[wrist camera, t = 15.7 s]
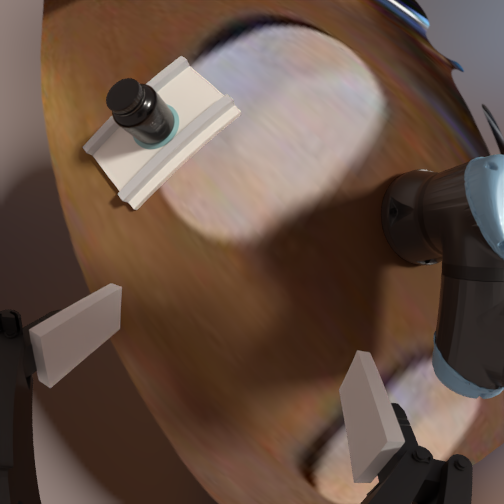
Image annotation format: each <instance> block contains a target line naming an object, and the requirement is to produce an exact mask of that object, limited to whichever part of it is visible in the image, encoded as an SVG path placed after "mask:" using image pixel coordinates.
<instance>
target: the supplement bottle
mask: <svg viewBox="0 0 504 504" xmlns="http://www.w3.org/2000/svg"><path fill="white" fill-rule="evenodd" d="M106 98H107V99H106V101H107V102H106V104H107V106H108V107H109V109H110V110H112V116H113V119H114V121H115V123H116V124H117V125H118V126H120V127H121V128H122V129H124V130H125V131H126V132H128V133H129V134H131V135H132V136H133V137H135V138H136V139H137V140H139V141H140V142H142V143H144V144H147V145H154V144H158V143H160V142H162V141H164V140H165V139H166V138H167V137H168V136H169V135H170V134H171V132H172V130H173V128H174V124H175V118H174V115H173V113H172V111H171V110H170V108H169V107H168V106H167V105H166V103H165V102H164V101H163V99H162V98H161V97H160V96H159V94H158V93H157V92H156V91H155V90H154V89H153V88H152V87H151V86H149V85H147V84H139V83H138V82H137V81H136V80H135V79H132V78H131V79H129V78H127V79H122V80H121V81H119V82H117V83H116V84H115V85H113V87H112V88H111V89H110V90H109V93H108V94H107V97H106Z"/></svg>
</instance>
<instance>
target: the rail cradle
mask: <svg viewBox="0 0 504 504" xmlns="http://www.w3.org/2000/svg"><path fill="white" fill-rule="evenodd" d="M147 85H149V86H151V87H152V88H153V89H154V90H155V91H156V92H157V93H158V94H159V96H160V97H161V98H162V99H163V101H164V102H165V103H166V105H167V106H168V107H169V108H170V110H171V111H172V113H173V115H174V118H175V124H174V128H173V130H172V132H171V134H170V135H169V136H168V137H167V138H166V139H165V140H164V141H162V142H160V143H158V144H154V145H147V144H144V143H142V142H140V141H139V140H137V139H136V138H135V137H133V136H132V135H131V134H129V133H128V132H126V131H125V130H124V129H122V128H121V127H120V126H118V125H117V124H116V123H115V121H114V119H113V116H111V117H110V118H109V119H108V120H107V121H106V122H105V123H104V124H103V126H102V127H101V128H100V129H99V130H98V131H97V132H96V133H95V134H94V135H93V136H92V137H91V138H90V140H89V141H88V142H87V143H86V144H85V145H84V146H83V149H84V150H85V151H86V153H88V154H90V155H92V156H93V157H94V158H95V159H96V161H97V162H98V164H99V165H100V166H101V168H102V169H103V170H104V172H105V173H106V174H107V176H108V177H109V178H110V179H111V181H112V182H113V183H114V185H115V186H116V187H117V189H118V190H119V191H120V192H119V193H118V196H119V197H120V198H121V199H122V201H124V202H128V203H129V204H130V205H131V206H132V208H133V209H134V210H138V209H139V208H140V207H141V205H142V204H143V203H144V202H145V201H146V200H147V199H148V198H149V197H150V196H151V195H152V194H153V193H154V192H155V191H156V190H157V189H158V188H159V187H160V186H161V185H162V184H163V183H164V182H165V181H166V180H167V179H169V178H170V177H171V176H172V175H173V174H174V173H175V172H176V171H177V170H178V169H179V168H180V167H181V166H182V165H183V164H184V163H186V162H187V161H188V160H189V159H190V158H191V157H192V156H193V155H194V154H195V153H197V152H198V151H199V150H200V149H201V148H202V147H203V146H204V145H206V144H207V143H208V142H209V141H210V140H211V139H213V138H214V137H215V136H216V135H217V134H218V133H220V132H221V131H222V130H223V129H224V128H226V127H227V126H228V125H229V124H230V123H232V122H233V121H234V120H235V119H236V118H238V117H239V116H240V115H241V111H240V110H239V109H238V108H237V107H236V106H235V105H234V100H233V99H232V98H231V97H230V96H229V95H228V94H226V95H223V94H222V93H220V92H219V91H218V90H217V89H216V88H215V87H214V86H213V85H211V84H210V83H209V82H208V81H207V80H206V79H204V78H203V77H202V76H201V75H200V74H199V73H197V72H196V71H195V70H194V69H193V68H191V67H190V66H189V64H188V61H187V60H186V59H185V58H184V57H183V56H180V57H179V58H178V59H176V60H175V61H174V62H173V63H171V64H170V65H169V66H167V67H166V68H165V69H164V70H162V71H161V72H160V73H159V74H157V75H156V76H155V77H154V78H153V79H151V80H150V81H149V82H148V83H147Z"/></svg>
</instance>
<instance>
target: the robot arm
mask: <svg viewBox="0 0 504 504" xmlns="http://www.w3.org/2000/svg"><path fill="white" fill-rule="evenodd" d="M381 218H382V226H383V230H384V233H385V236H386V239H387V241H388V243H389V244H390V246H391V247H392V249H393V250H394V251H395V252H396V253H397V254H398V255H399V256H400V257H401V258H403V259H404V260H406V261H408V262H411V263H414V264H420V265H432V264H436V263H439V262H441V261H442V274H441V289H440V301H439V310H438V319H437V327H436V331H435V333H434V351H433V358H432V364H433V367H434V371H435V374H436V376H437V377H438V379H439V380H440V381H441V382H442V383H443V384H444V385H445V386H446V387H447V388H449V389H450V390H452V391H454V392H456V393H458V394H460V395H463V396H466V397H469V398H478V396H480V397H482V398H483V399H487V398H492V397H494V396H496V395H498V394H500V393H501V392H502V391H503V389H504V155H501V154H497V155H491V156H488V157H479V158H475V159H473V160H471V161H470V162H467V163H464V164H462V165H459V166H456V167H454V168H451V169H448V170H445V171H443V172H440V173H436V172H432V171H429V170H421V169H420V170H413V171H410V172H407V173H405V174H403V175H401V176H399V177H398V178H396V179H395V180H394V181H393V182H392V183H391V185H390V186H389V188H388V189H387V191H386V193H385V196H384V199H383V203H382V210H381ZM121 295H122V287H121V286H118V285H115V284H112V283H110V284H109V285H107V286H105V287H103V288H101V289H99V290H98V291H96V292H94V293H92V294H90V295H88V296H87V297H85V298H83V299H81V300H80V301H78V302H76V303H74V304H72V305H71V306H69V307H67V308H65V309H64V310H56V311H53V312H50V313H48V314H46V315H45V316H43V317H41V318H40V319H39V320H36V321H34V322H32V323H31V324H29V325H27V326H25V327H24V328H22V322H21V315H20V314H19V313H18V312H17V311H15V310H3V311H0V504H41V500H40V495H39V489H38V484H37V476H36V468H35V459H34V446H33V427H32V394H33V393H32V392H33V377H32V374H33V373H34V372H35V371H37V374H38V378H39V381H41V382H42V383H43V384H45V385H47V386H48V387H49V388H51V387H52V386H54V384H56V383H57V382H58V381H59V380H61V379H62V378H63V377H64V376H65V375H66V374H67V373H69V372H70V371H71V370H72V369H73V368H74V367H76V366H77V365H78V364H79V363H80V362H81V361H83V360H84V359H85V358H86V357H87V356H89V355H90V354H91V353H92V352H93V351H94V350H96V349H97V348H98V347H99V346H100V345H102V344H103V343H104V342H105V341H106V340H107V339H109V338H110V337H111V336H112V335H114V334H115V333H116V332H117V331H118V330H120V317H121ZM339 392H340V398H341V403H342V409H343V414H344V420H345V426H346V432H347V438H348V445H349V451H350V458H351V465H352V472H353V479H354V483H371V482H372V481H373V479H374V478H375V477H376V476H377V475H378V479H379V483H378V484H377V485H376V486H375V487H374V488H373V489H372V490H371V491H370V492H369V493H368V494H367V497H366V498H365V499H364V500H363V501H362V502H361V504H411V503H412V504H471V496H472V464H471V462H470V460H469V459H468V458H467V457H465V456H463V455H459V454H456V455H453V456H451V457H450V458H449V460H448V461H447V462H445V461H440V460H436V459H433V456H432V454H431V453H430V451H429V450H427V449H426V448H424V447H421V446H418V443H417V441H416V438H415V436H414V433H413V431H412V428H411V426H410V423H409V421H408V420H407V416H406V414H405V411H404V410H403V409H402V408H401V407H400V405H399V404H396V403H391V402H390V400H389V397H388V395H387V392H386V390H385V387H384V385H383V382H382V380H381V377H380V375H379V373H378V370H377V368H376V365H375V363H374V361H373V358H372V356H371V354H370V352H364V351H359V350H357V352H356V354H355V357H354V359H353V361H352V363H351V366H350V368H349V370H348V372H347V374H346V376H345V379H344V381H343V383H342V385H341V387H340V389H339Z"/></svg>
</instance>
